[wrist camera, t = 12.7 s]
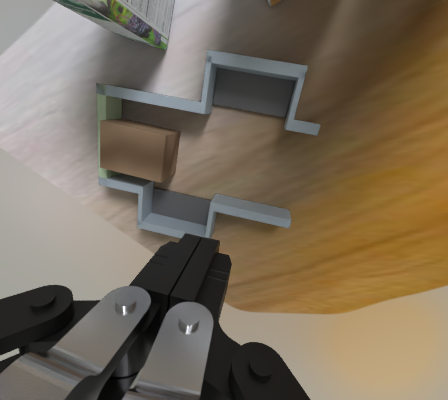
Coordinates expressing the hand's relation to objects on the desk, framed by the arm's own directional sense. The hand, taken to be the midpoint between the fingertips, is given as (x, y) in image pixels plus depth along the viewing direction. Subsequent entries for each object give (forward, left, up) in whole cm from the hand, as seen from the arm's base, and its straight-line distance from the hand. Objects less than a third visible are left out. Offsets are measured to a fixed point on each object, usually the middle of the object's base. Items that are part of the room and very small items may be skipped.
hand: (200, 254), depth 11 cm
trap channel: (0, -5, -19) cm, 19 cm away
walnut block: (0, -11, -19) cm, 22 cm away
